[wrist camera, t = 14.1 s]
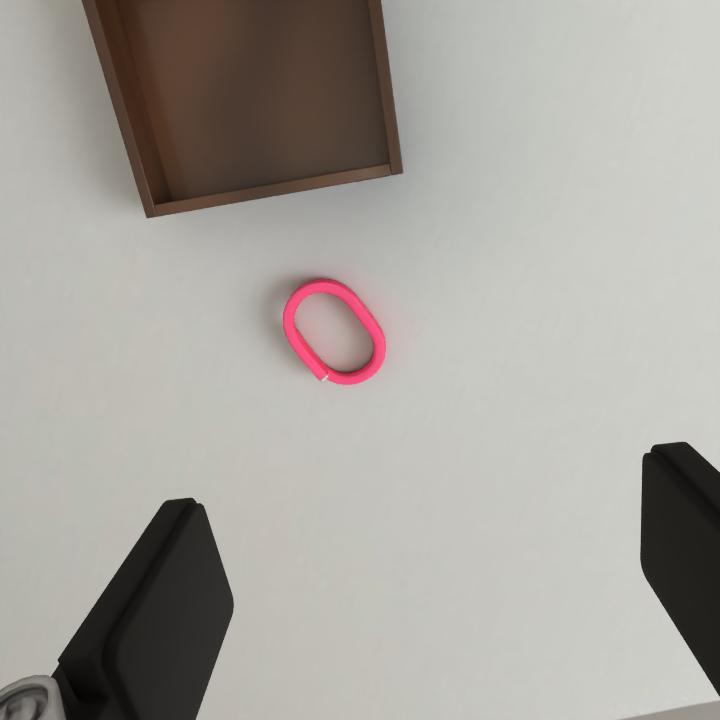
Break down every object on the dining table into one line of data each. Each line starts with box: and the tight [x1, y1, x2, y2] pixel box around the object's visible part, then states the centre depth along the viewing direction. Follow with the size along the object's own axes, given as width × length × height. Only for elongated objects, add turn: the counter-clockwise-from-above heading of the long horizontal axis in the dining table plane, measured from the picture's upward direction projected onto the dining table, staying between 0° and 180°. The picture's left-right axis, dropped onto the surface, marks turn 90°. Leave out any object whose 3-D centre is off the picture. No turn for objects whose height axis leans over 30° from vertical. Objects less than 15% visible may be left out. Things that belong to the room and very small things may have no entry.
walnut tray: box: [82, 0, 403, 218], centre depth 30 cm, size 16×13×3 cm
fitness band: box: [283, 279, 386, 385], centre depth 36 cm, size 8×6×2 cm
